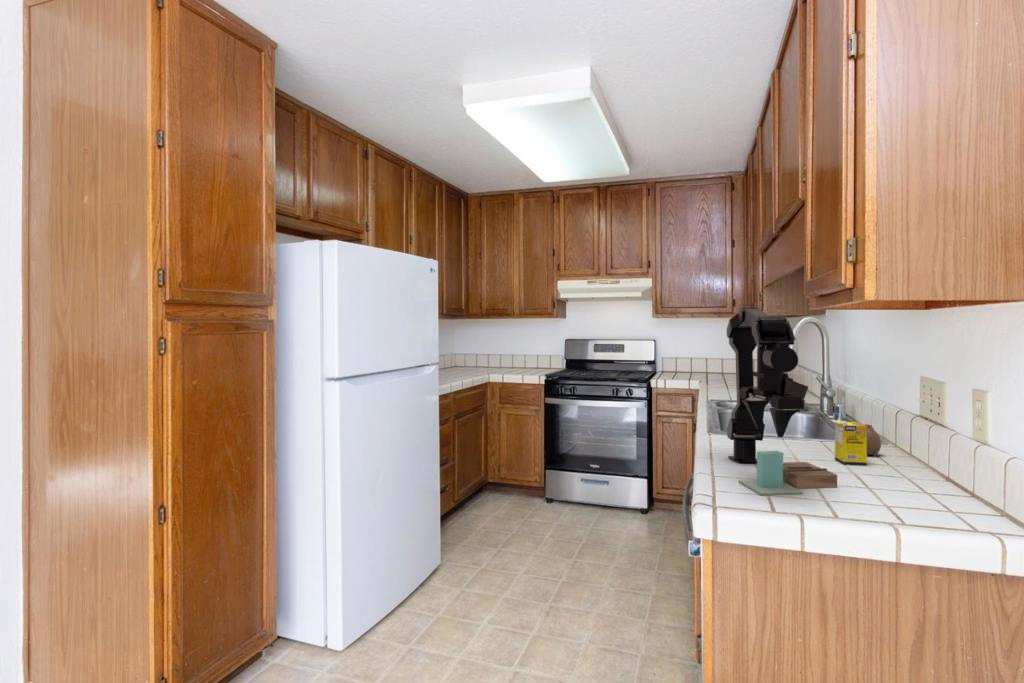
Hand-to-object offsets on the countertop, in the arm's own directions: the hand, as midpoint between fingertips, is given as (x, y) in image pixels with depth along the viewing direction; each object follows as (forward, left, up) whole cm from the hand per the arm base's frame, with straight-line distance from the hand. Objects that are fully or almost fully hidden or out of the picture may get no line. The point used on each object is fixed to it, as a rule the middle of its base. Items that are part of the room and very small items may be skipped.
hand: (769, 432), depth 126 cm
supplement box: (-17, +34, -13) cm, 40 cm away
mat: (+3, -1, -13) cm, 13 cm away
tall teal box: (+2, -1, -12) cm, 12 cm away
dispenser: (-2, +10, -13) cm, 16 cm away
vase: (-25, +45, -13) cm, 53 cm away
